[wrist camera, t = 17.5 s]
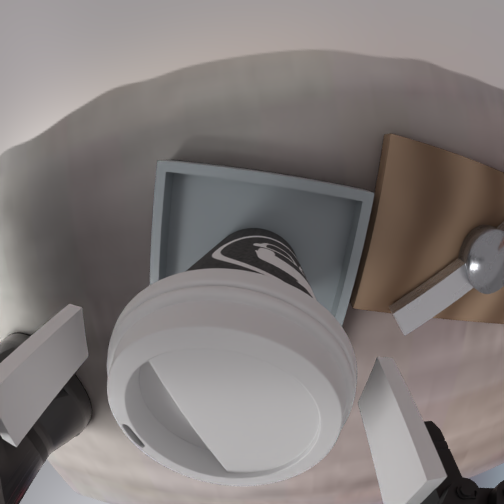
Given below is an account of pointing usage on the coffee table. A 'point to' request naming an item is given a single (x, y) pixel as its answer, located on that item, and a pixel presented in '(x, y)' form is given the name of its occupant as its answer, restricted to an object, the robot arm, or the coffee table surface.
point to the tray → (260, 221)
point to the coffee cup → (232, 367)
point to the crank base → (426, 226)
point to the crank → (456, 278)
